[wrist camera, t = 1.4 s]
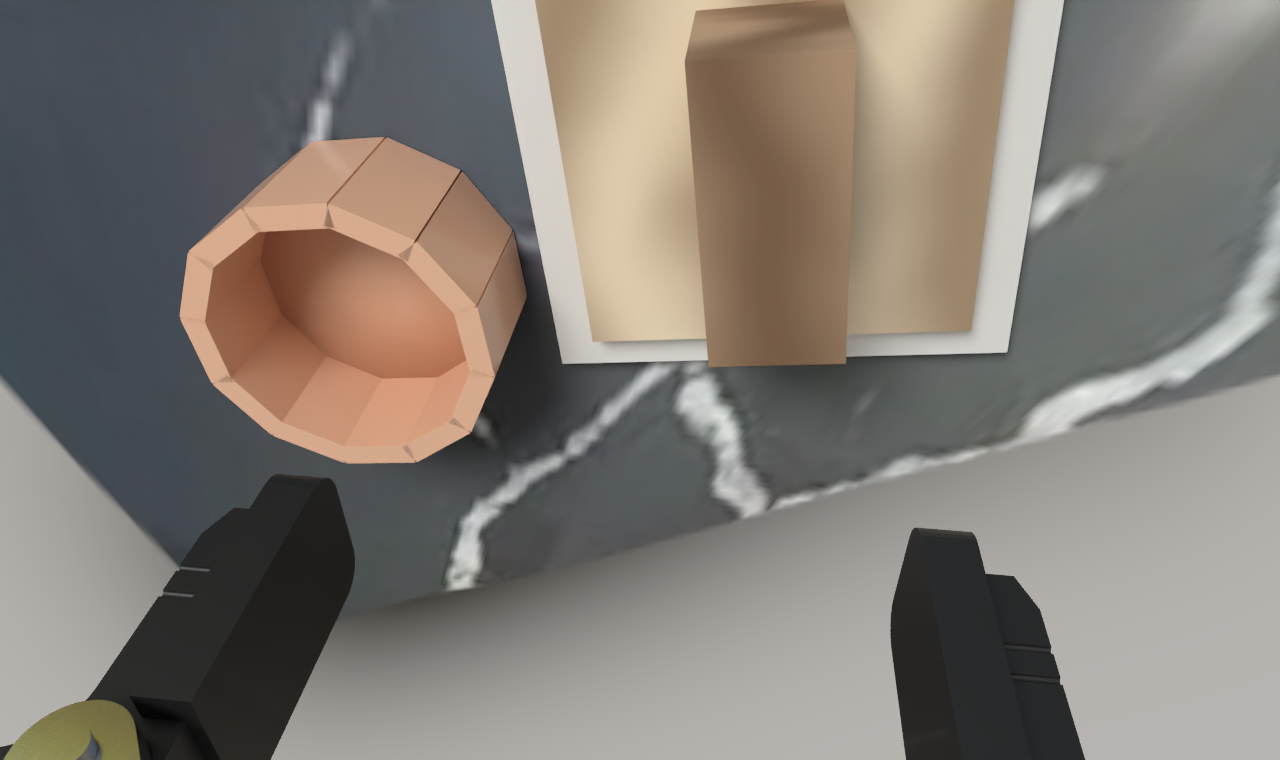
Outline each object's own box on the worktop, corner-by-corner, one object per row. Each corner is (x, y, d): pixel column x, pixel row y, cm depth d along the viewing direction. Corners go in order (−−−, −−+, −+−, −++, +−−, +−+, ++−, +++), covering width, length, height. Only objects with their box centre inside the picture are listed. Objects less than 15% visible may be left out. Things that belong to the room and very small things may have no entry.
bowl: (491, 129, 29) (448, 196, 25) (544, 376, 35) (516, 461, 31) (211, 148, 31) (128, 213, 27) (306, 381, 37) (251, 463, 33)
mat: (1086, -184, 22) (1093, -182, 22) (1003, 342, 32) (1007, 352, 31) (474, -116, 25) (468, -113, 24) (565, 354, 34) (562, 363, 34)
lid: (1020, -107, 23) (1077, -66, 19) (967, 317, 31) (999, 414, 26) (532, -58, 25) (485, -11, 21) (595, 329, 33) (571, 421, 28)
